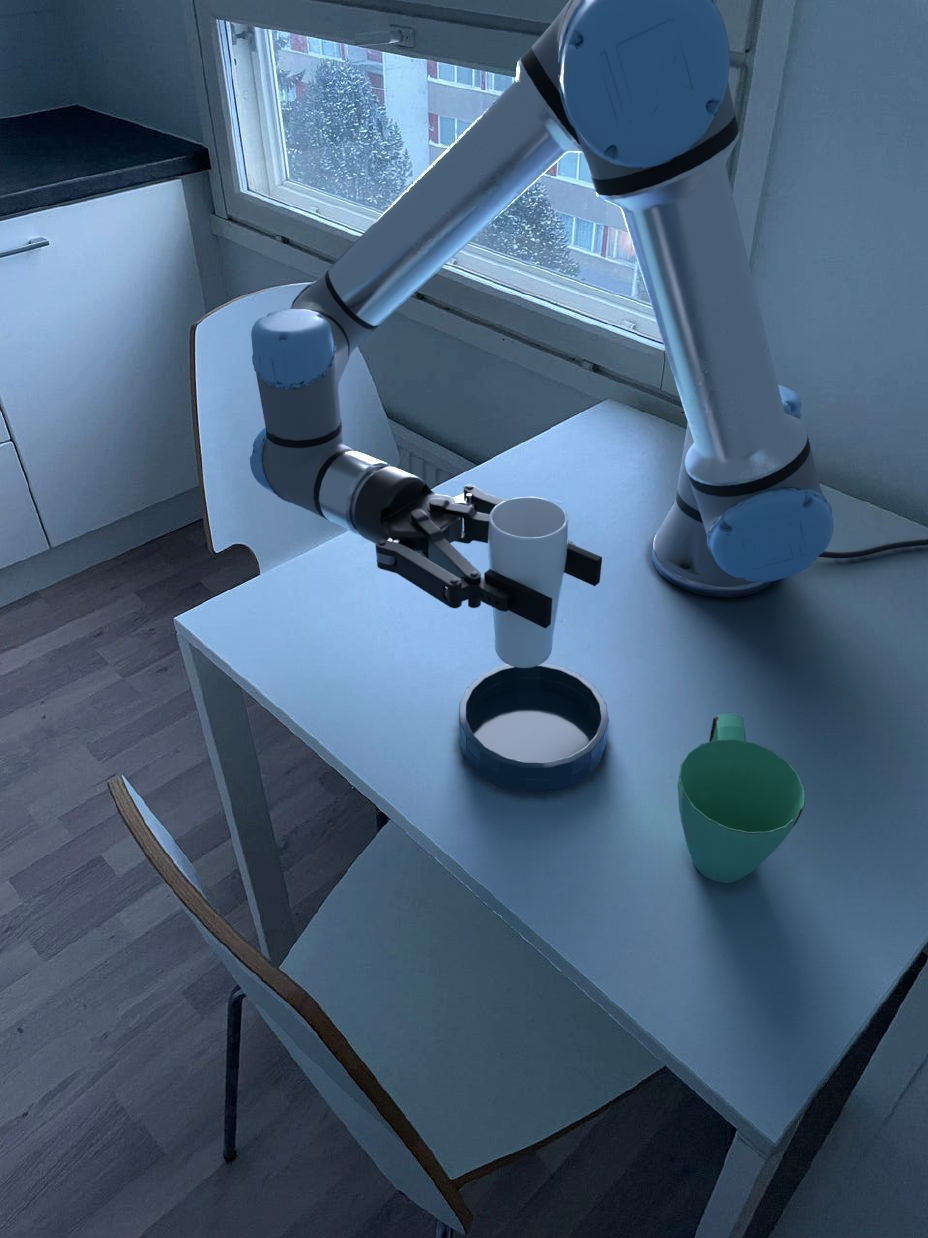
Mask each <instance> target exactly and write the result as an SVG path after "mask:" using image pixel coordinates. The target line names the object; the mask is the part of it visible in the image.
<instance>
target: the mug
mask: <svg viewBox="0 0 928 1238" xmlns="http://www.w3.org/2000/svg"><path fill="white" fill-rule="evenodd" d="M744 719H745V718H744V717H743V716H742V715H740V714H737V713H732V712H731V713H730V712H729V713H728V712H727V713H719V714H718V715H716V716H715V717H714V718H713V719H712V724H711V730H710V735H709V740H708V741H707V742H703V743H701V744H699V745H697V746H696V747H695V748H693V749H692V750H690V751H689V752H687V754H686V755H685V757H684V759H683V760H682V762H681V763H680V767H679V771H678V772H679V773H678V780H677V798H678V810H679V816H680V823H681V827H682V830H683V831H682V832H683V834H684V838H685V842H686V846H687V850H688V852H689V855H690V857H691V860H692V863H693V865H694V866H695V868H696V869H697V871H698V872H699V873H701V874H702V876H704V877H705V878H707V879H709V880H711V881H713V882H716V883H720V884H721V883H722V884H732V883H735V882H738V881H741V880H742V879H744V878H745V877H746V876H748V875H749V874H750V873H752V872H754V871H755V869H757V868H758V867H759V866H760V865H761V864H762V863H763V862H765V860H767V858H769V857H770V856H771V855H772V854H773V853H774V852H775V851H776V850H777V849H778V847H780V845H781V844H782V843H783V842H784V840H785V839H786V838H787V837H788V835H789V834H790V832H791V831H792V830H793V829H794V828H795V825H796V824H797V823H798V821H799V820H800V816H801V815H802V814H803V811H804V808H805V805H806V789H805V786H804V784H803V782H802V780H801V777H800V775H799V773H798V771H796V770H795V768H794V767H793V766H792V765H791V763H789V761H788V760H786V759H785V758H783V757H782V756H780V755H779V754H778V753H777V752H775V751H773V750H772V749H770V748H767V747H765V746H763V745H761V744H758V743H755V742H751V741H747V733H746V725H745V720H744Z"/></svg>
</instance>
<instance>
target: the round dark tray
mask: <svg viewBox="0 0 928 1238" xmlns="http://www.w3.org/2000/svg"><path fill="white" fill-rule="evenodd" d="M458 707H459V709H458V731H459V732H458V733H459V736H458V737H459V739H458V740H459V745H460V748H461V751H462V754H463V756H464V758H465V760H466V761H467V763H468V764H469V765H470V767H471V768H472V769H473V770H474V771H475V772H476V773H477V774H478V775H480V776H481V777H482V778H483V779H485V780H486V781H488V782H490V783H492V784H494V785H496V786H498V787H501V788H503V789H507V790H510V791H513V792H519V793H525V794H528V793H529V794H546V793H553V792H557V791H561V790H565V789H567V788H570V787H572V786H573V787H574V786H575V785H576V784H578V783H580V782H582V781H583V780H585V779H586V778H587V777H589V776H590V775H591V774H592V773H593V772H594V770H595V769H596V768H597V767H598V766H599V764H600V762H601V760H602V758H603V755H604V751H605V747H606V745H607V737H608V729H609V721H610V719H609V712H608V707H607V702H606V701H605V699H604V697H603V696H602V694H601V693H600V691H599V689H598V688H597V687H596V686H595V685H594V684H592V683H591V682H590V681H589V680H587V679H586V678H585V677H584V676H583V675H581V674H579V673H577V672H575V671H572V670H571V669H569V668H567V667H565V666H561V665H557V664H552V663H548V662H543V663H542V664H540V665H538V666H535V667H531V668H518V667H514V666H511V665H508V664H504V665H498V666H497V667H494V668H492V669H490V670H488V671H486V672H484V673H482V674H480V675H479V676H478V677H477V678H476V679H475V680H473V682H471V684H469V685H468V686H467V687H466V689H465V691H464V693H463V695H462V698H461V699H460V701H459V706H458Z"/></svg>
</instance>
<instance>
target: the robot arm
mask: <svg viewBox="0 0 928 1238" xmlns="http://www.w3.org/2000/svg"><path fill="white" fill-rule="evenodd" d="M730 51H731V50H730V42H729V36H728V32H727V29H726V25H725V22H724V19H723V17H722V14H721V11H720V9H719V7H718V6H717V4H716V2H715V1H714V0H568V2H567V3H566V4H565V6H563V8H562V10H560V12H559V13H558V14H557V16H556V18H555V19H554V20H553V22H551V24H550V25H549V26H548V28H547V29H546V30H545V31H544V32H543V33H542V34H541V35H540V37H539V38H538V39H537V40H536V41H535V42H534V43H533V45H532V46H531V47H529V49H528V50H527V51H526V52H525V53H524V54H523V55H522V56H521V57H520V58H519V59H517V65H516V75H515V79H514V81H513V82H512V84H510V86H508V87H507V88H506V90H505V91H504V92H503V93H502V94H500V96H498V98H496V99H495V101H493V103H491V104H490V106H488V108H486V110H484V112H483V113H482V114H481V115H480V116H479V117H477V118H476V120H475V121H474V122H473V123H472V124H470V126H469V127H468V128H467V129H465V131H464V132H463V133H462V134H461V135H460V136H458V138H456V140H455V141H453V143H452V144H451V145H450V146H448V148H447V149H446V150H445V151H444V152H443V153H442V154H441V155H440V156H439V157H438V158H437V159H436V160H435V161H433V163H432V164H431V165H430V166H429V167H428V168H427V169H426V170H425V171H423V173H422V174H421V175H420V176H419V177H418V178H417V179H416V180H414V182H413V183H412V184H411V185H410V186H409V187H408V188H407V189H406V190H405V191H404V192H403V193H402V194H401V195H400V196H399V197H398V198H397V199H396V200H395V201H394V202H393V203H392V204H391V205H390V206H389V207H388V208H387V209H386V210H385V211H384V212H383V213H382V214H381V215H380V216H379V217H378V218H377V219H376V220H375V221H374V222H373V223H372V224H371V225H370V226H369V227H368V228H367V229H366V230H365V231H364V233H362V234H361V235H360V236H359V237H358V238H357V239H356V241H354V242H353V244H351V246H349V247H348V248H347V249H346V251H344V252H343V253H342V254H341V255H340V257H338V258H337V260H335V262H333V263H332V265H331V266H329V268H328V270H326V271H325V272H324V273H323V274H322V275H321V276H320V277H319V278H318V279H316V280H314V281H312V282H310V283H309V284H307V285H306V286H305V287H304V288H303V289H302V290H300V292H299V293H298V295H297V296H295V298H294V299H293V301H292V303H291V305H290V308H288V309H281V310H276V311H272V312H269V313H268V314H267V315H266V316H262V317H260V318H258V319H257V320H256V321H254V323H253V325H252V327H251V331H250V338H251V349H252V350H251V351H252V356H251V362H252V366H253V370H254V372H255V375H256V381H257V387H258V393H259V398H260V399H259V400H260V405H261V409H262V416H263V420H264V426H265V427H264V428H263V429H262V430H261V431H259V433H258V434H257V436H256V437H255V438H254V441H253V443H252V452H251V455H250V456H249V466H250V470H251V473H252V475H253V477H254V479H255V480H256V482H257V483H258V484H259V485H260V486H261V487H262V488H264V489H266V490H267V491H269V492H270V493H273V494H274V495H276V496H277V498H279V499H281V500H282V501H285V502H286V503H289V504H290V503H291V504H293V505H295V506H298V507H300V508H302V509H305V510H307V511H309V512H311V513H312V514H314V515H317V516H320V517H322V518H323V519H325V520H327V521H329V522H331V523H333V524H335V525H337V526H339V527H341V528H344V529H345V530H347V531H349V532H352V533H354V534H356V535H359V536H361V537H362V538H363V539H365V540H367V541H369V542H371V543H373V544H374V545H375V556H376V557H375V558H376V566H377V568H378V569H380V570H383V571H385V572H386V571H387V572H389V573H393V574H397V575H398V576H400V577H401V578H403V579H405V580H406V581H408V582H409V583H411V584H412V585H414V586H416V587H417V588H419V589H420V590H422V591H423V592H425V593H427V594H428V595H430V596H432V597H433V598H434V599H436V600H438V601H439V602H441V603H443V604H444V605H445V606H447V607H449V608H451V609H458V608H461V607H462V605H463V602H465V601H467V606H468V607H469V608H471V609H478V608H479V607H481V605H482V603H484V604H486V605H487V606H490V607H491V608H492V609H493V608H495V609H497V610H499V611H504V612H507V611H508V610H509V611H511V612H513V613H515V614H517V615H519V616H521V617H523V618H525V619H527V620H529V621H531V622H533V623H535V624H537V625H539V626H541V627H543V628H545V629H546V628H547V627H548V626H549V625H550V624H551V612H552V598H550V597H548V596H546V595H544V594H542V593H540V592H537V591H535V590H533V589H531V588H529V587H527V586H525V585H523V584H520V583H518V582H516V581H514V580H512V579H510V578H508V577H505V576H503V575H501V574H499V573H497V572H495V571H493V570H491V569H489V568H488V570H486V571H485V572H484V573H483V577H482V573H481V572H480V571H479V570H478V569H477V567H475V566H474V565H473V564H472V563H471V562H470V561H469V560H468V559H467V558H466V557H464V555H463V554H462V553H461V552H460V551H459V550H457V548H456V547H455V546H453V545H452V543H454V542H457V543H461V544H466V545H467V544H468V545H469V544H471V543H472V542H479V543H485V544H488V528H489V515H490V513H491V511H492V510H493V508H494V507H495V506H497V505H498V504H500V503H501V502H504V501H506V500H507V499H505V498H502V497H499V496H496V495H493V494H490V493H487V492H484V491H483V490H482V489H480V488H479V487H478V486H476V485H475V484H465V485H464V486H463V493H462V494H459V495H457V496H454V497H452V496H450V495H447V494H440V493H435V492H434V491H433V490H432V489H431V488H430V487H429V486H428V484H427V483H426V482H425V481H424V479H422V478H421V477H419V476H417V475H415V474H411V473H410V472H407V471H406V470H403V469H400V468H399V467H396V466H392V465H391V464H390V463H387V462H386V461H383V460H381V459H378V458H376V457H374V456H370V455H368V454H367V453H366V454H365V453H363V452H361V451H358V450H356V449H353V448H351V447H349V446H347V445H346V444H345V442H344V437H343V436H344V435H343V423H342V417H341V415H342V413H341V404H340V392H339V384H340V381H341V379H342V376H343V374H344V372H345V369H346V366H347V364H348V362H349V360H350V357H351V354H352V353H353V351H354V350H355V349H356V348H357V347H358V346H360V344H362V342H364V341H365V340H366V339H367V338H368V337H369V336H370V335H371V334H372V333H373V332H374V331H375V330H377V328H378V327H379V326H380V325H381V324H382V323H383V322H384V321H385V320H386V319H387V318H389V317H390V316H391V315H392V314H393V313H394V312H395V311H396V310H398V309H399V307H401V306H402V305H403V304H404V303H405V302H406V301H407V300H408V299H409V298H411V296H412V295H414V294H415V293H416V292H417V291H418V290H419V289H421V288H422V286H423V285H425V284H426V283H427V282H428V281H429V280H430V279H431V278H432V277H433V276H434V275H435V274H436V273H438V272H439V271H440V270H441V269H442V268H443V267H444V266H445V265H446V264H448V262H450V261H451V260H452V259H453V258H454V257H455V256H456V255H458V253H460V251H462V250H463V249H464V248H465V247H466V246H467V245H468V244H469V243H470V242H472V240H474V238H476V237H477V236H478V235H479V234H480V233H481V232H482V231H483V230H485V228H487V227H488V226H489V225H490V224H491V223H492V222H493V221H494V220H495V219H497V217H498V216H499V215H501V214H502V213H503V212H504V211H506V209H507V208H509V206H511V204H513V203H514V202H515V201H516V200H517V199H518V198H520V196H522V195H523V194H524V193H525V192H526V191H527V190H528V189H529V188H530V187H531V186H532V185H533V184H535V183H536V182H537V181H538V180H539V179H540V178H541V177H542V176H543V175H544V174H546V173H547V172H548V171H549V170H550V169H551V168H552V167H553V166H554V165H555V164H556V163H558V162H559V161H560V160H561V158H563V157H564V156H565V155H566V154H569V153H582V154H583V158H584V160H585V164H586V166H587V169H588V172H589V173H588V174H589V175H590V178H591V182H592V184H593V187H594V191H595V194H596V196H597V197H598V198H599V199H601V200H603V201H606V202H608V203H610V204H613V205H615V206H616V207H619V208H620V210H621V213H622V216H623V219H624V222H625V226H626V228H627V231H628V236H629V238H630V241H631V244H632V245H631V246H632V247H633V251H634V254H635V257H636V260H637V265H638V267H639V270H640V273H641V276H642V279H643V283H644V286H645V290H646V293H647V295H648V300H649V303H650V305H651V309H652V312H653V315H654V319H655V321H656V324H657V327H658V331H659V334H660V337H661V340H662V343H663V344H662V345H663V347H664V350H665V354H666V356H667V361H668V363H669V366H670V370H671V373H672V376H673V379H674V383H675V385H676V389H677V392H678V395H679V398H680V401H681V405H682V408H683V410H684V414H685V417H686V420H687V425H686V432H685V437H684V444H683V449H682V456H681V463H680V469H679V474H678V475H679V476H678V480H677V489H676V494H675V500H674V501H673V502H672V504H671V506H670V507H669V511H668V512H667V514H666V517H664V520H663V521H662V524H661V525H660V526H659V529H658V530H657V532H656V534H655V537H654V539H653V542H652V543H653V544H652V548H651V549H652V550H651V559H652V563H653V565H654V567H655V569H656V570H657V572H658V573H659V574H660V575H661V576H662V577H663V578H664V579H666V580H667V581H668V582H670V583H672V584H673V585H675V586H677V587H678V588H681V589H683V590H685V591H688V592H690V593H693V594H698V595H701V596H706V597H714V598H739V597H745V596H750V595H753V594H756V593H759V592H761V591H763V590H764V589H766V588H767V587H768V586H769V585H771V584H772V583H773V582H775V581H779V580H782V579H786V578H790V577H792V576H794V575H796V574H799V573H800V572H802V571H804V570H805V569H807V568H809V567H810V566H811V565H813V563H815V562H816V561H817V558H825V559H854V558H860V557H865V556H869V555H874V554H877V553H881V552H887V551H890V550H896V549H903V548H911V547H920V546H928V538H922V539H921V538H919V539H911V540H903V541H896V542H891V543H890V542H889V543H884V544H880V545H877V546H873V547H869V548H864V549H859V550H853V551H826V550H827V548H828V547H829V545H830V543H831V541H832V538H833V535H834V528H835V526H834V524H835V523H834V518H833V509H832V505H831V503H830V502H829V501H828V499H827V498H826V497H825V496H824V493H823V490H822V487H821V484H820V482H819V477H818V473H817V469H816V465H815V460H814V456H813V452H812V448H811V443H810V439H809V434H808V432H807V431H808V430H807V428H806V425H805V424H804V422H803V421H802V420H800V419H801V417H802V414H801V409H802V399H801V398H800V396H799V394H798V393H796V392H795V391H794V390H792V389H790V388H788V387H786V386H784V385H780V384H778V383H779V382H778V379H777V374H776V370H775V367H774V362H773V358H772V354H771V350H770V346H769V342H768V341H769V340H768V337H767V333H766V329H765V325H764V319H763V317H762V313H761V308H760V304H759V300H758V295H757V291H756V286H755V282H754V278H753V275H752V270H751V266H750V261H749V258H748V253H747V250H746V245H745V241H744V237H743V234H742V233H743V232H742V228H741V223H740V220H739V215H738V212H737V211H738V210H737V207H736V204H735V199H734V195H733V191H732V186H731V182H730V177H729V173H728V170H727V169H728V168H727V162H728V160H729V158H730V156H731V154H732V153H733V150H734V149H735V146H736V145H737V143H738V141H739V139H740V135H741V134H740V129H739V125H738V122H737V121H738V120H737V116H736V111H735V107H734V101H733V97H732V92H731V89H730V84H729V76H730V75H729V74H730V66H731V60H730ZM602 564H603V556H600V555H598V554H595V553H593V552H591V551H589V550H587V549H584V548H582V547H579V546H577V545H576V544H575V543H574V542H573V541H571V540H569V539H568V545H567V557H566V564H565V570H564V574H567V575H568V576H571V577H573V578H575V579H578V580H580V581H581V582H584V583H587V584H589V585H591V586H593V587H596V586H598V584H600V582H601V575H602V573H601V572H602Z"/></svg>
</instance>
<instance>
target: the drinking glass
mask: <svg viewBox="0 0 928 1238" xmlns="http://www.w3.org/2000/svg"><path fill="white" fill-rule="evenodd" d="M505 500H506V501H504V502H501V503H500V504H498V505H497V506H495V507H494V508H493V510H492V511H491V513H490V515H489V528H488V543H487V562H488V563H487V564H488V570H489V569H491V570H493V571H495V572H497V573H499V574H501V575H503V576H505V577H508V578H510V579H512V580H514V581H516V582H518V583H520V584H523V585H525V586H527V587H529V588H531V589H533V590H535V591H537V592H540V593H542V594H544V595H546V596H548V597H550V598H552V612H551V624H550V625H549V626H548V627H547V628H546V629H545V628H543V627H541V626H539V625H537V624H535V623H533V622H531V621H529V620H527V619H525V618H523V617H521V616H519V615H517V614H515V613H513V612H511V611H509V610H508V611H507V612H504V611H499V610H497V609H495V608H493V607H492V614H493V615H492V616H493V627H494V650H495V653H496V655H497V657H498V658H499V659H500V661H502V662H503V663H505V665H507V664H508V665H511V666H514V667H518V668H531V667H535V666H538V665H540V664H542V663H546V661H547V660H548V659H549V658H550V656H551V654H552V651H553V642H554V641H553V640H554V633H555V626H556V620H557V615H558V609H559V603H560V597H561V592H562V586H563V582H564V576H565V573H564V570H565V564H566V557H567V545H568V540H569V516H568V513H567V511H566V510H565V509H564V508H563V507H561V506H560V505H559V504H557V503H556V502H554V501H552V500H548V499H546V498H541V497H536V496H520V497H519V496H518V497H513V498H509V499H505Z"/></svg>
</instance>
